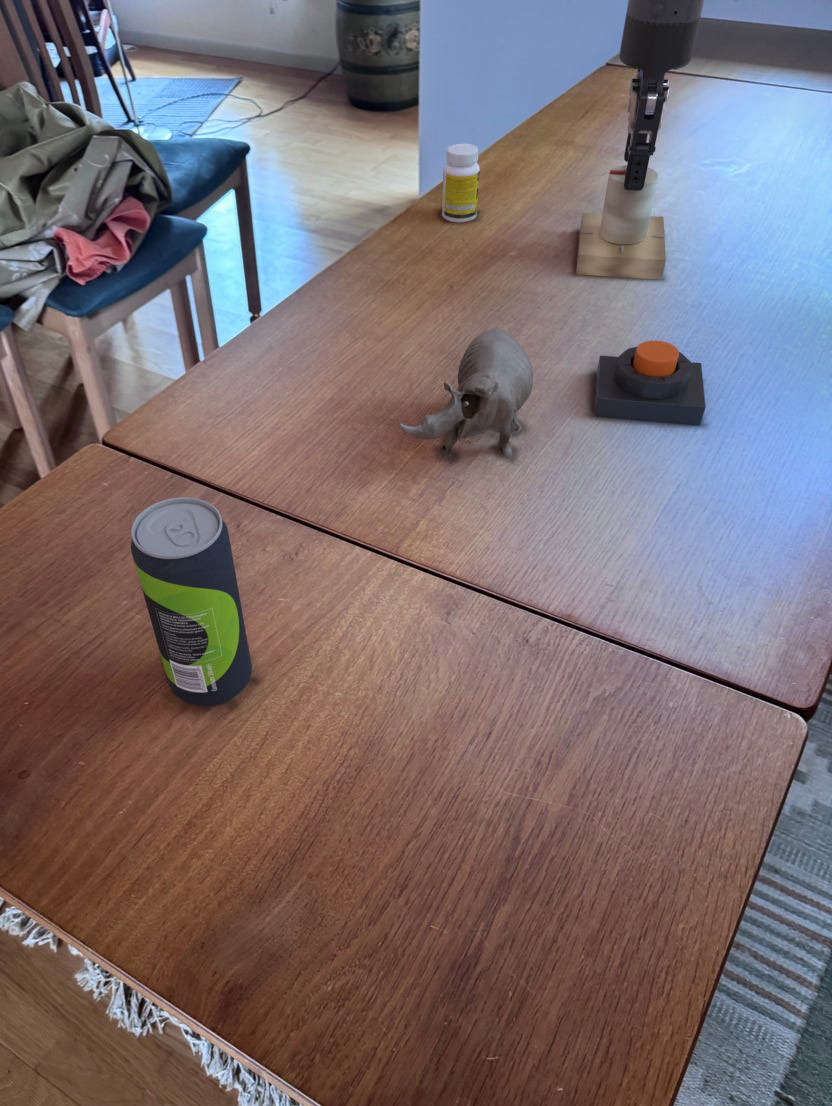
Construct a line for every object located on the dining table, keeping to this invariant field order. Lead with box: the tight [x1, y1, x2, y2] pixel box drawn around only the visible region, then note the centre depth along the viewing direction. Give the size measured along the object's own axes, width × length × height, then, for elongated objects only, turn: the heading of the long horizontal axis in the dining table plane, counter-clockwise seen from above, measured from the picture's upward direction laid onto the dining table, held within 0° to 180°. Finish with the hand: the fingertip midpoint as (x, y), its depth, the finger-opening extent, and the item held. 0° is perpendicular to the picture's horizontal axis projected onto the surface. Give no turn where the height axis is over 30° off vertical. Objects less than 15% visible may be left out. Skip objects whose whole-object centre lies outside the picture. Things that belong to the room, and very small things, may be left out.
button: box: [633, 340, 680, 377], centre depth 88 cm, size 4×4×2 cm
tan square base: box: [575, 212, 667, 280], centre depth 111 cm, size 10×12×3 cm
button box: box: [594, 346, 706, 427], centre depth 89 cm, size 10×8×4 cm
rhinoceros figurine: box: [398, 327, 534, 459], centre depth 84 cm, size 8×14×15 cm
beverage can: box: [130, 496, 253, 707], centre depth 62 cm, size 6×6×15 cm
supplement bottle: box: [441, 143, 481, 224], centre depth 119 cm, size 5×5×8 cm
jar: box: [599, 164, 659, 245], centre depth 108 cm, size 6×6×7 cm
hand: (632, 174), depth 105 cm, fingers open, 8 cm apart
